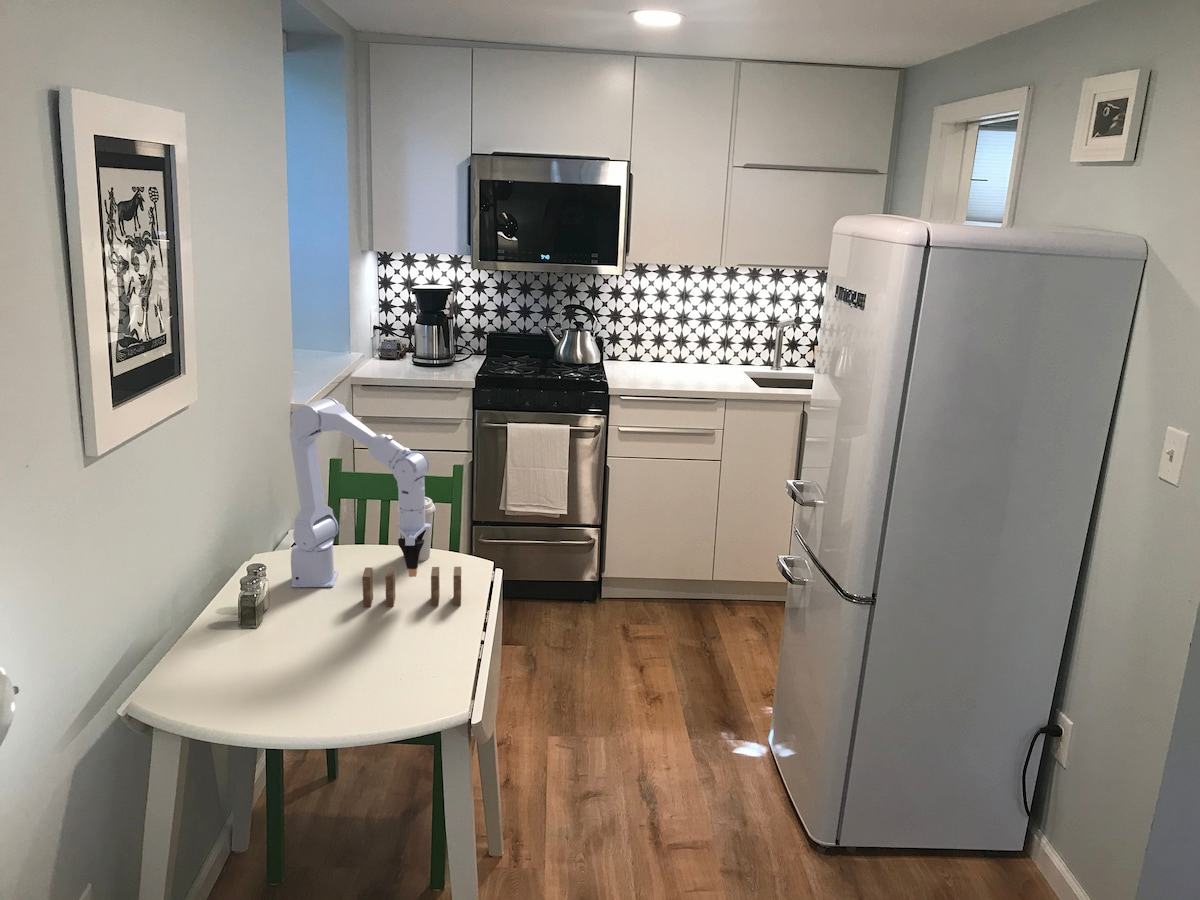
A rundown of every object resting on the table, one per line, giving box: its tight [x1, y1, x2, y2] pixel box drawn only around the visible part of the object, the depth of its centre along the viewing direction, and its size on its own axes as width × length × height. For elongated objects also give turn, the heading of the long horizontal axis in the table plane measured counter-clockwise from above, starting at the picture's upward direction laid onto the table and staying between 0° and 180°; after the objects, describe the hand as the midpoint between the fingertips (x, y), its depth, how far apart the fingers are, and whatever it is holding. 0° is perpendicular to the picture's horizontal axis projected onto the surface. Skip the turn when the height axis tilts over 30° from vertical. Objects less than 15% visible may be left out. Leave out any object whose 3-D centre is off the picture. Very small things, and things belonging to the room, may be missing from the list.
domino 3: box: [408, 537, 419, 578], centre depth 211 cm, size 2×5×8 cm, turn 7°
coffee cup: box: [396, 496, 436, 563], centre depth 236 cm, size 10×10×15 cm
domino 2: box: [384, 566, 396, 608], centre depth 212 cm, size 2×5×8 cm, turn 7°
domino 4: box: [430, 566, 440, 607], centre depth 213 cm, size 2×5×8 cm, turn 7°
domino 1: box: [361, 566, 374, 608], centre depth 211 cm, size 2×5×8 cm, turn 7°
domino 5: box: [452, 566, 462, 607], centre depth 214 cm, size 2×5×8 cm, turn 7°
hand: (412, 563), depth 211 cm, fingers closed on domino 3, 5 cm apart
